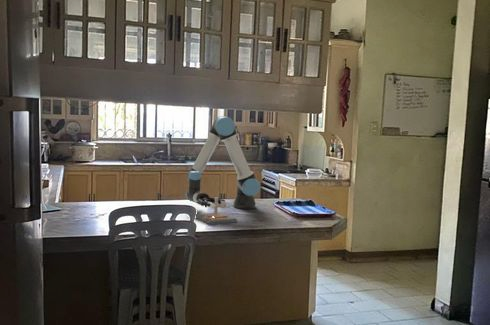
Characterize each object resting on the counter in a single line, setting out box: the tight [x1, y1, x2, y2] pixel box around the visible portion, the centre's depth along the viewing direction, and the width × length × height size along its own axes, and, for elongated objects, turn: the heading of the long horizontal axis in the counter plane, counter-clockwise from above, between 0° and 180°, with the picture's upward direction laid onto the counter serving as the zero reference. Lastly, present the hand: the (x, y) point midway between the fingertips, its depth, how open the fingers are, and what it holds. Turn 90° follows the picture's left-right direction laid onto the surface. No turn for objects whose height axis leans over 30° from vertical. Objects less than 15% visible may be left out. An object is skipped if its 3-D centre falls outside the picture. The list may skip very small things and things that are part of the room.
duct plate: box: [195, 212, 238, 226], centre depth 269 cm, size 18×18×2 cm
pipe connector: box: [212, 196, 226, 214], centre depth 268 cm, size 10×10×10 cm
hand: (220, 205), depth 265 cm, fingers closed on pipe connector, 8 cm apart
